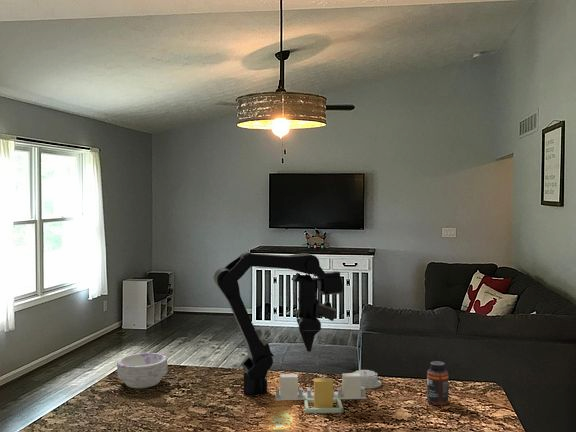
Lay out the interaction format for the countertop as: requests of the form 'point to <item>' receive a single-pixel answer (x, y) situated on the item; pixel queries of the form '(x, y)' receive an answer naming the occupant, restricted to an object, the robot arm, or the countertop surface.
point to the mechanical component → (368, 379)
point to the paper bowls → (142, 369)
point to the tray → (324, 410)
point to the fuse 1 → (288, 385)
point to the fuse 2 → (351, 385)
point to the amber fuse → (323, 393)
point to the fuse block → (310, 395)
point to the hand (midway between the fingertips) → (307, 347)
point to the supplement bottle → (437, 384)
